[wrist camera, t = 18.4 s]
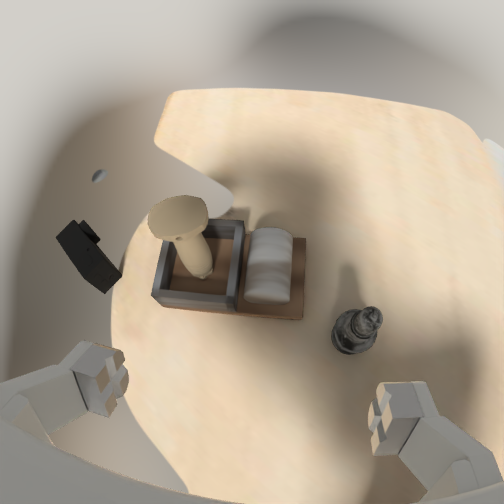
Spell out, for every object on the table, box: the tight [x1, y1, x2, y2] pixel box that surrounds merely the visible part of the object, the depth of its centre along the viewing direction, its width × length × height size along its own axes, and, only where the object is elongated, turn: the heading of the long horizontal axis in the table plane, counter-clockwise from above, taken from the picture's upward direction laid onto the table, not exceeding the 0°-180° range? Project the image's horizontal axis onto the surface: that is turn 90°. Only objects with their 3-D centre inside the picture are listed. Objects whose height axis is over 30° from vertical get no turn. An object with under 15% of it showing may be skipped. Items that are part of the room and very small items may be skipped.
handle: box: [148, 195, 213, 280], centre depth 40 cm, size 5×6×15 cm
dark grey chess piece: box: [332, 306, 383, 354], centre depth 37 cm, size 6×6×12 cm
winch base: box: [151, 219, 306, 320], centre depth 44 cm, size 12×20×7 cm, turn 84°
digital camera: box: [56, 220, 122, 294], centre depth 46 cm, size 10×5×7 cm, turn 48°
